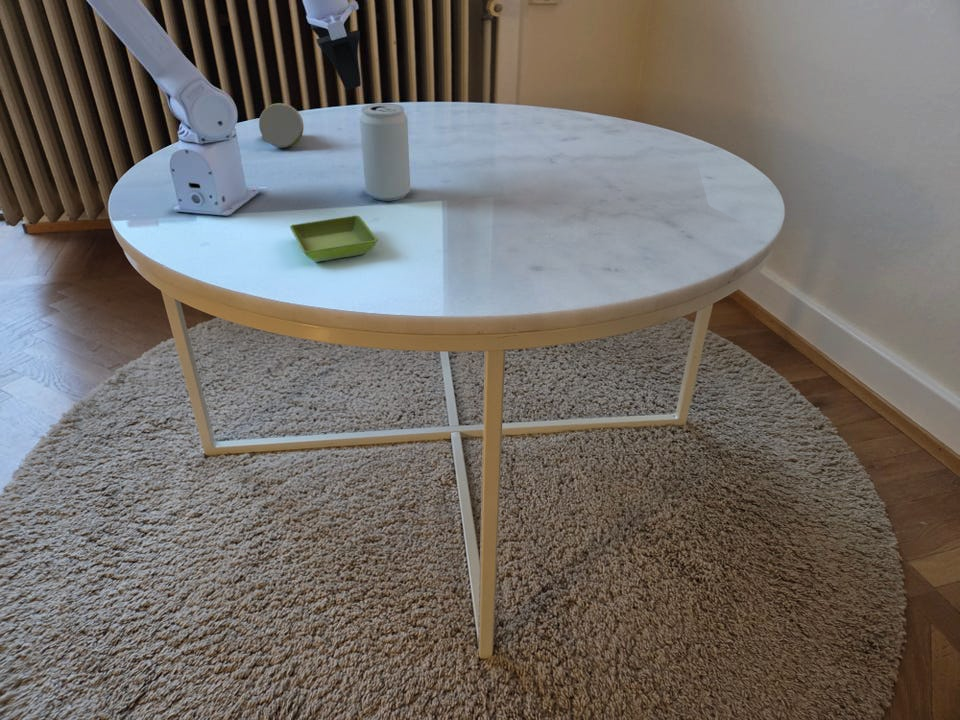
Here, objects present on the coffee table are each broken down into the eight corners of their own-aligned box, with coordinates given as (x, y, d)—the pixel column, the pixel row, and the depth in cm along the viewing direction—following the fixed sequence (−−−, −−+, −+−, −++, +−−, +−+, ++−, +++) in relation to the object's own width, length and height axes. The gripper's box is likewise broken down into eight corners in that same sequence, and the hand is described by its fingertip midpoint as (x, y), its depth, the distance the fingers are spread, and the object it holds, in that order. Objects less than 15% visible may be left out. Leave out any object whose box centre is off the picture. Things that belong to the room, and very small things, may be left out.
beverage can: (388, 184, 100) (383, 99, 94) (420, 193, 97) (416, 107, 90) (356, 195, 96) (348, 107, 90) (388, 206, 93) (382, 116, 86)
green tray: (291, 240, 83) (288, 224, 82) (360, 229, 86) (358, 214, 85) (305, 269, 76) (303, 252, 75) (380, 256, 79) (378, 240, 78)
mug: (310, 134, 123) (311, 89, 114) (297, 172, 118) (298, 129, 109) (268, 123, 121) (266, 77, 113) (254, 162, 117) (251, 117, 108)
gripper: (354, -25, 83) (385, 86, 91) (339, -43, 93) (368, 57, 102) (298, -9, 82) (335, 101, 91) (290, -29, 93) (323, 71, 102)
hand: (349, 79), depth 96 cm, fingers open, 7 cm apart
